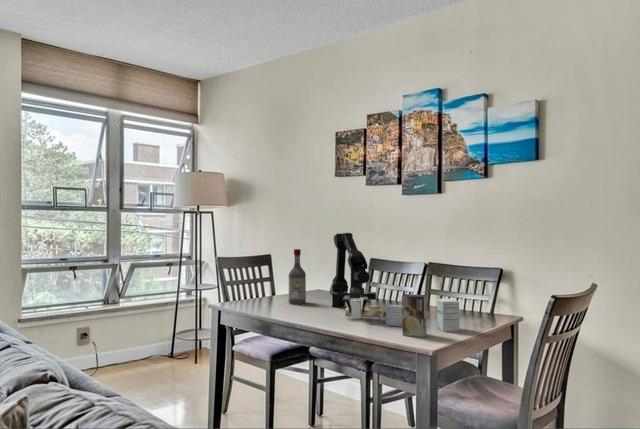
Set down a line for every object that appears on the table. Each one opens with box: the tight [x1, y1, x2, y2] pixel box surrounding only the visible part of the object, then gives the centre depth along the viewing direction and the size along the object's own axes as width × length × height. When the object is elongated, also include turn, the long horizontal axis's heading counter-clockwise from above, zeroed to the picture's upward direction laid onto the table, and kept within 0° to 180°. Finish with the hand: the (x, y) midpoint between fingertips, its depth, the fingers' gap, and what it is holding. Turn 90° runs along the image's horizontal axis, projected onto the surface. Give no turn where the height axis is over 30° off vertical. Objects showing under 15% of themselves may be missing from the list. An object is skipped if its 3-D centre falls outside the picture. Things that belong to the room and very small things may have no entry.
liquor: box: [288, 248, 307, 305], centre depth 267 cm, size 9×9×30 cm
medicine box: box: [385, 304, 402, 327], centre depth 212 cm, size 8×4×9 cm, turn 71°
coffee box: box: [401, 293, 428, 338], centre depth 195 cm, size 9×6×16 cm
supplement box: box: [436, 298, 460, 333], centre depth 204 cm, size 7×7×13 cm
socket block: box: [344, 304, 385, 318], centre depth 238 cm, size 18×13×3 cm
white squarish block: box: [351, 299, 362, 320], centre depth 228 cm, size 4×4×8 cm
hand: (356, 313), depth 228 cm, fingers open, 5 cm apart
